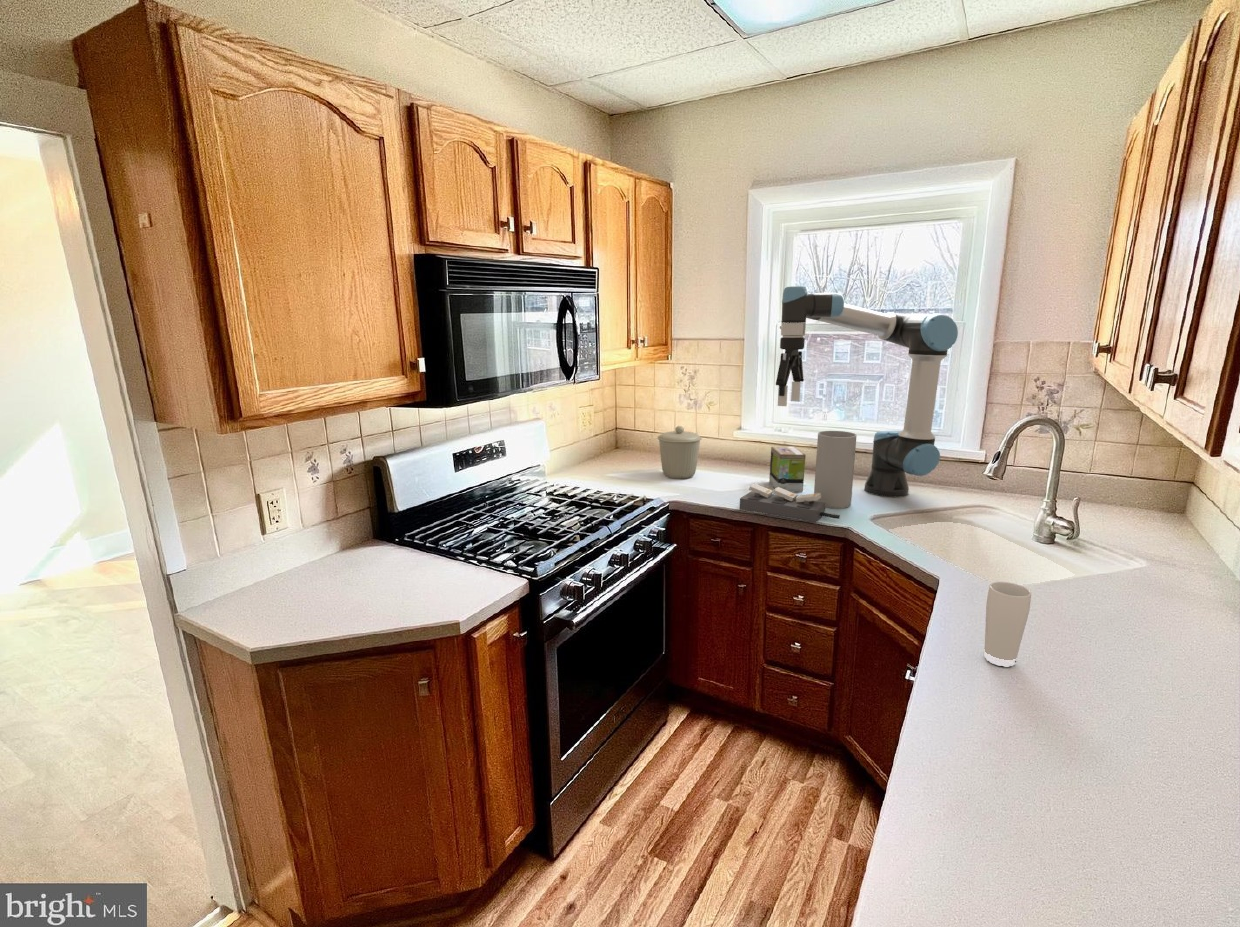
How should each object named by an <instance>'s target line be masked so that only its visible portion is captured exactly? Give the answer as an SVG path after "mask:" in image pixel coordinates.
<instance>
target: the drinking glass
mask: <svg viewBox="0 0 1240 927" xmlns="http://www.w3.org/2000/svg"><path fill="white" fill-rule="evenodd" d="M1031 601H1032V592H1031V590H1029V589H1028V588H1026V587H1024V586H1023V585H1019V584H1017V583H1014V582H1010V581H1009V582H1007V581H995V582H994V581H993V582H992V583H990V584H989V587H988V592H987V598H986V605H985V627H984V628H985V630H984V631H985V633H984V649H985V652H986V653H987V654H990V655H991V656H993V657H996V658H999V659H1004V660H1013V659H1016V658H1017V659H1018V654H1019V651H1020V650H1019V649H1020V647H1021V643H1022V640H1023V635H1024V632H1025V628H1026V624H1027V622H1028V617H1029V614H1030V608H1031V603H1032V602H1031Z"/></svg>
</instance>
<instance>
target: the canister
mask: <svg viewBox="0 0 1240 927" xmlns="http://www.w3.org/2000/svg"><path fill="white" fill-rule="evenodd" d="M656 439H657V440H659V441H658V442H659V445H658V446H659V450H660V451H659V452H660V453H659V454H660V462H661V467H662V468H661V469H662V473H663V475H664V476H665V477H667V478H669V479H677V480H682V479H683V480H684V479H690V478H692V477H694V475H695V473H696V471H697V466H698V458H699V452H700V451H699V450H700V443H701V440H702V439H703V437H702V436H700V435H699V434H698V433H696V432H691V431H686V430H685V427H683V426H682V425H677V426H676V427H675V431H674V430H673V431H666V432H663V433H661V434H660V435H658V436H657V438H656Z"/></svg>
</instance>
